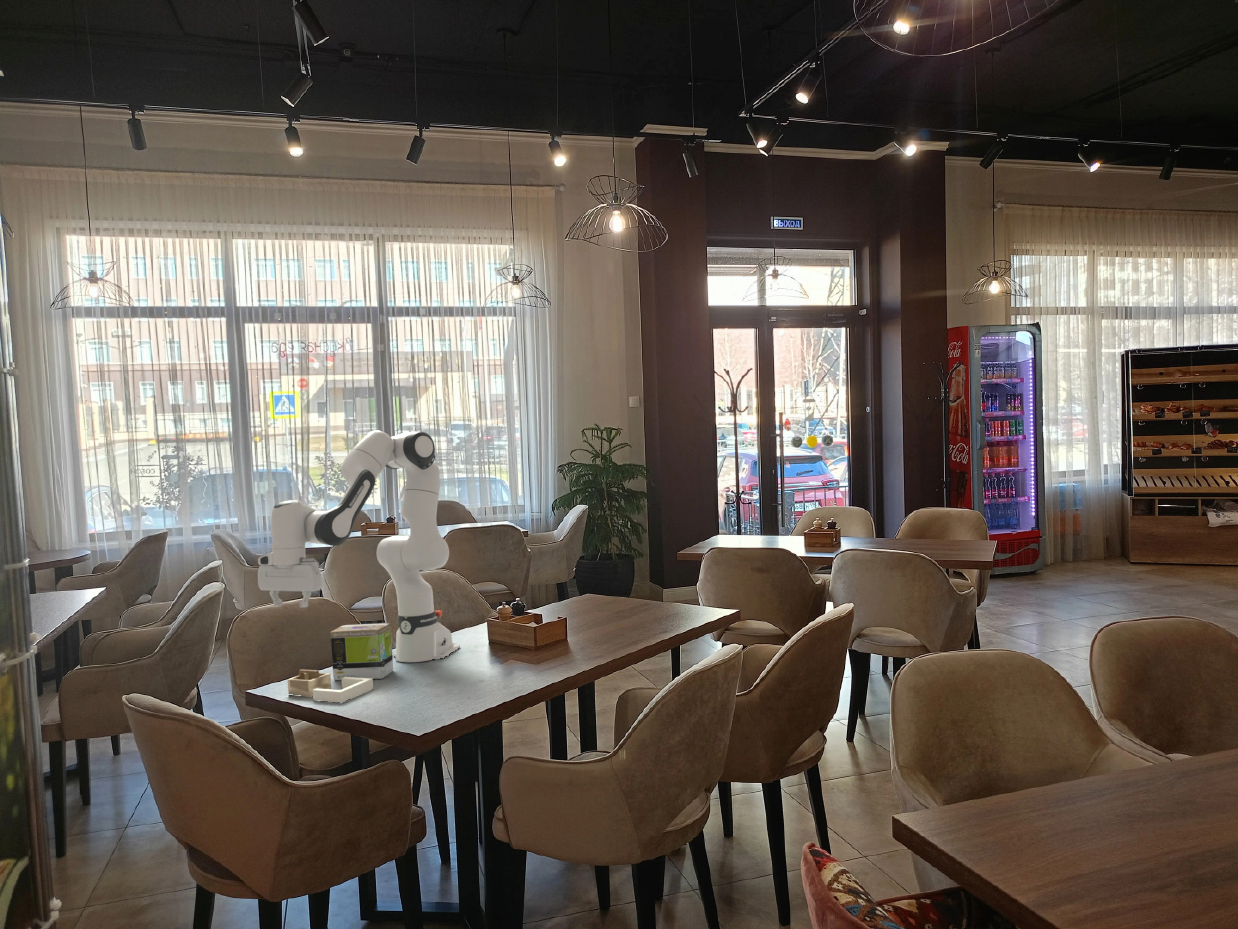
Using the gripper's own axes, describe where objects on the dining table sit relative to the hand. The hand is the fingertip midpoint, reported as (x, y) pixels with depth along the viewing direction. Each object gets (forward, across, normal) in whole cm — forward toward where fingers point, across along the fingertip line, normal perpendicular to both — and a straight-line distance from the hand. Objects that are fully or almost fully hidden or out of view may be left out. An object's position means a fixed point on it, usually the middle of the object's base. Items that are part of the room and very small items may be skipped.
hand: (290, 606), depth 244 cm
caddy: (+24, -6, 0) cm, 24 cm away
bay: (+24, -17, 0) cm, 29 cm away
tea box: (+23, -10, -18) cm, 31 cm away
